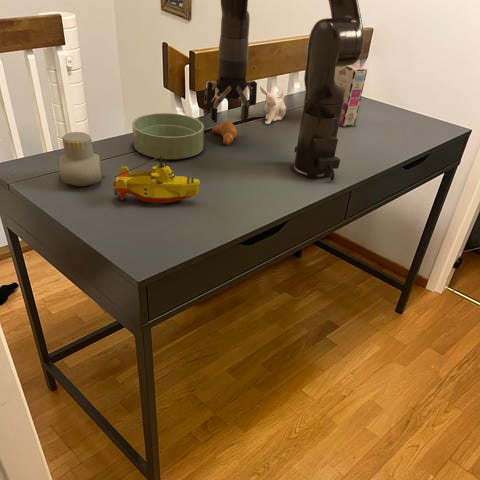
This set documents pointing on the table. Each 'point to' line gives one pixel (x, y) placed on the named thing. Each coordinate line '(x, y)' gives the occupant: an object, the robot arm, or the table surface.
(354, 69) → the candy bar box
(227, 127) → the croissant
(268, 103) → the rabbit figurine
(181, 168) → the table surface
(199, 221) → the table surface
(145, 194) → the toy boat
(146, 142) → the bowl
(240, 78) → the robot arm
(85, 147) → the air freshener
